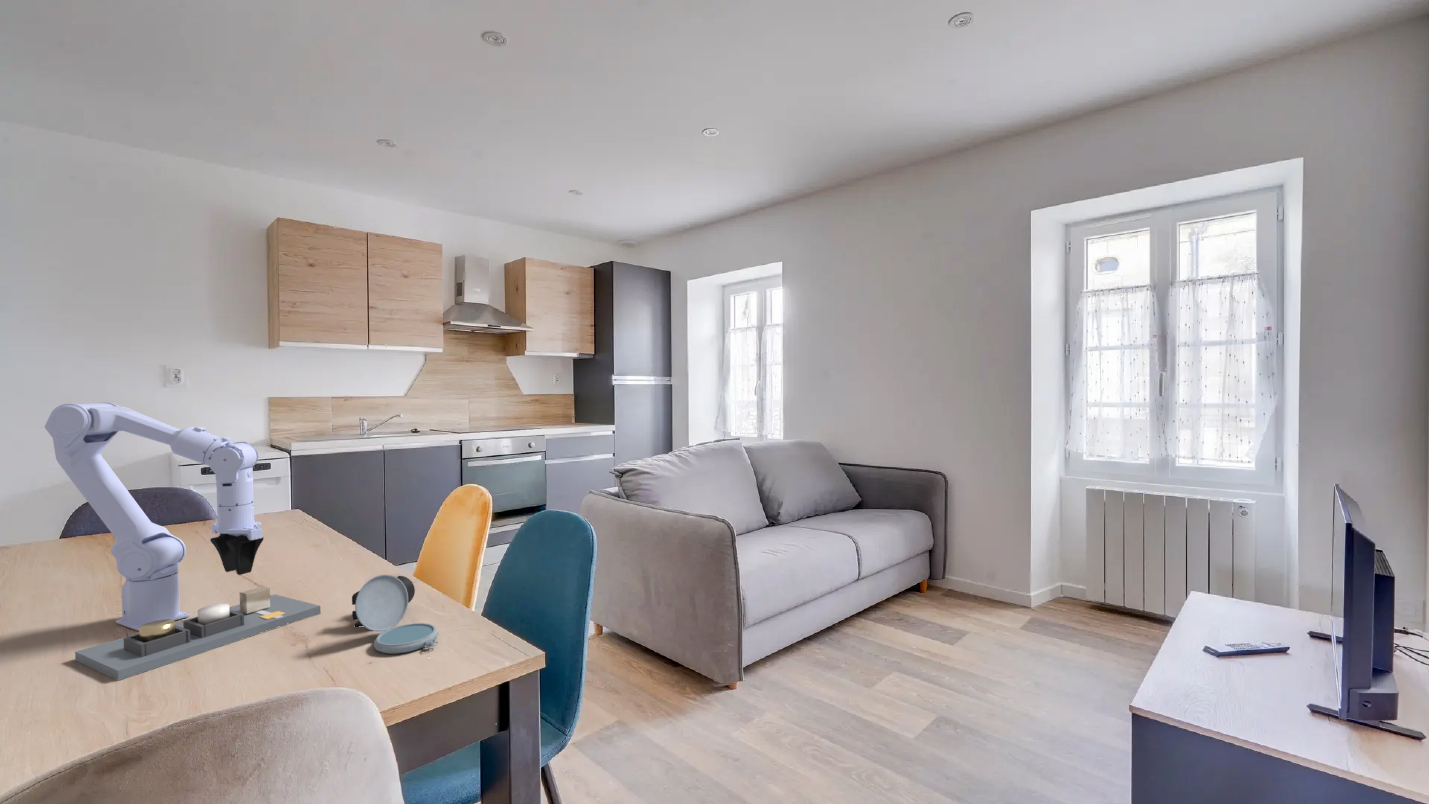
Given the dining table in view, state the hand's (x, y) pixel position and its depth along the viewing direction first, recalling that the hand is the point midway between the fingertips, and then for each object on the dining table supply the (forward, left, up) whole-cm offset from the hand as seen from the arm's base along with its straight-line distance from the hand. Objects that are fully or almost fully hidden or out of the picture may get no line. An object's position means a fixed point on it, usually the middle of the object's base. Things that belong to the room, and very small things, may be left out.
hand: (238, 571), depth 119 cm
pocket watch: (+43, +5, -9) cm, 44 cm away
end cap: (+29, +11, -9) cm, 32 cm away
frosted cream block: (+6, 0, -7) cm, 9 cm away
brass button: (+9, -16, -5) cm, 19 cm away
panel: (+7, -8, -8) cm, 13 cm away
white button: (+9, -8, -5) cm, 13 cm away
